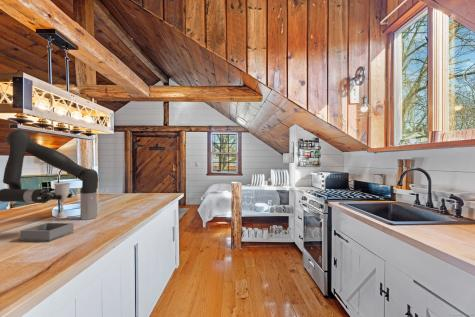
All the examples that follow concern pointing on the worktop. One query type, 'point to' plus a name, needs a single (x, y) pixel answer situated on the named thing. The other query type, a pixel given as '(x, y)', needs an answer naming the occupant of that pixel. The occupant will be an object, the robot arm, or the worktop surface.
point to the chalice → (63, 191)
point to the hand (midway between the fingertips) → (66, 196)
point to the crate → (46, 232)
